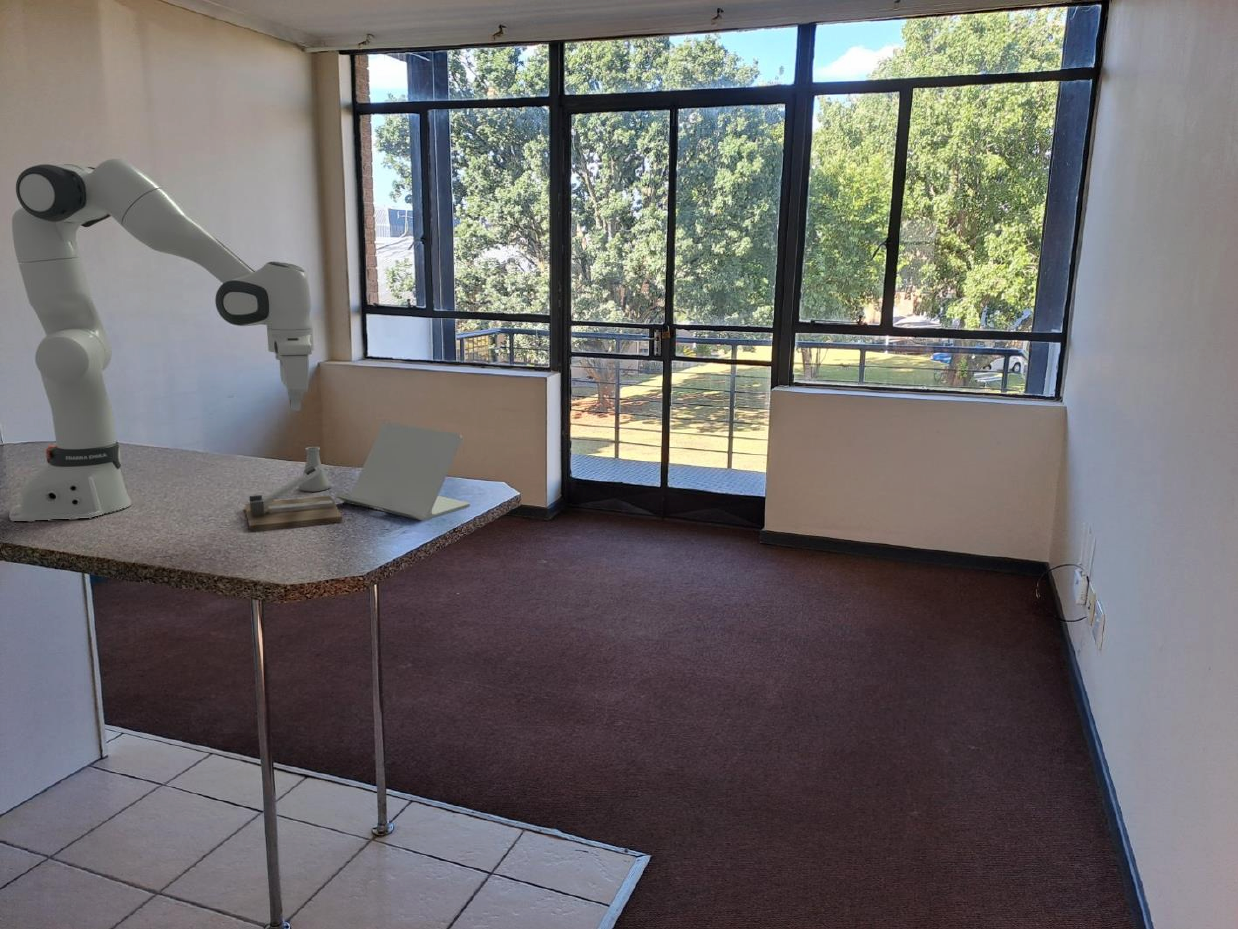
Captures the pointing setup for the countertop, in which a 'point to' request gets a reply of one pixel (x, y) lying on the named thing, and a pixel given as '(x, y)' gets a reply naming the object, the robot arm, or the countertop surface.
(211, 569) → the countertop surface
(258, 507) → the lower tong arm
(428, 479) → the tablet stand
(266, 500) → the upper tong arm
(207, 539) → the countertop surface
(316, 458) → the flask
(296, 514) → the walnut board
